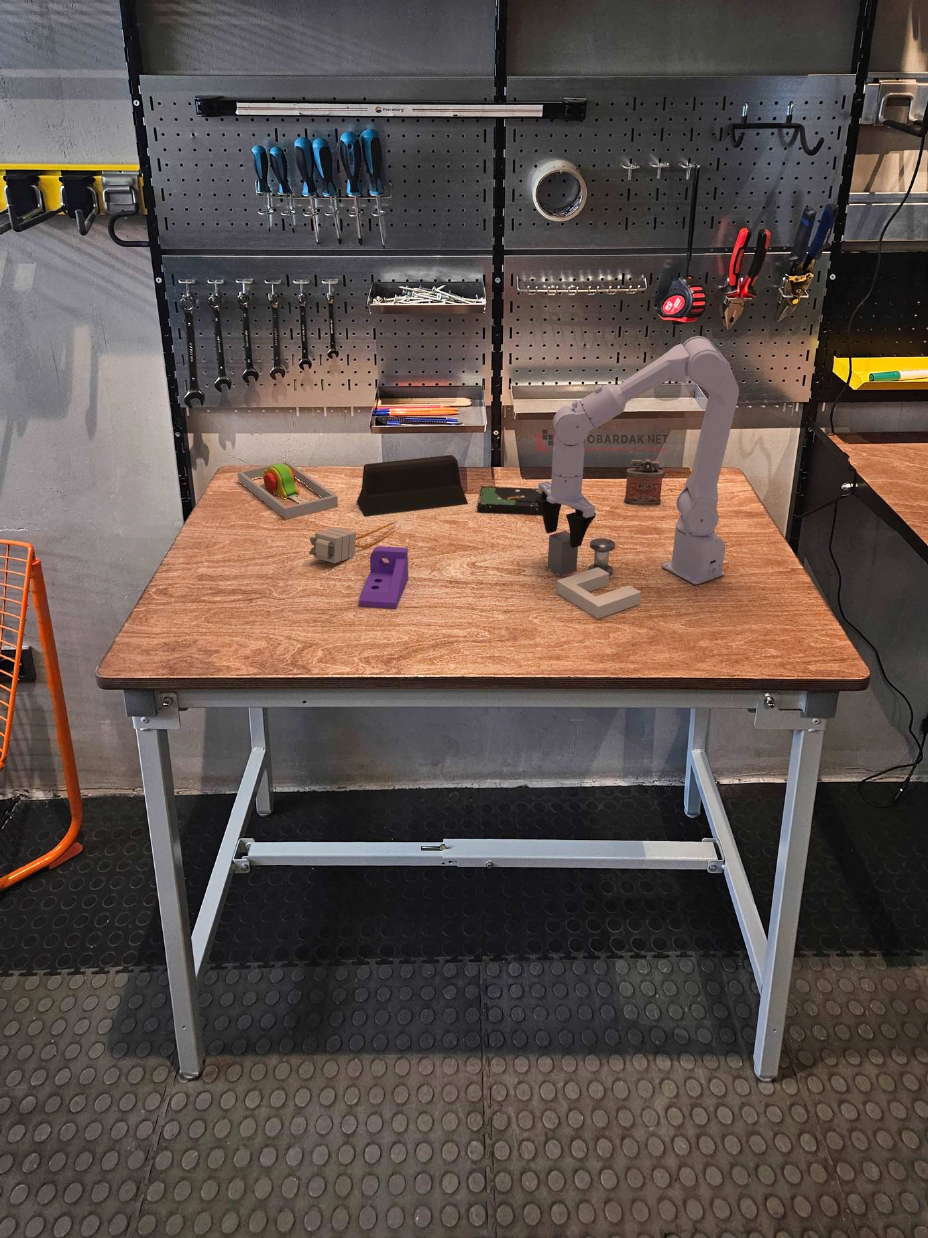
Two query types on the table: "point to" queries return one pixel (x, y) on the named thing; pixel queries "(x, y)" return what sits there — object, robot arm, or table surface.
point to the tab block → (562, 554)
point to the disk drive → (508, 500)
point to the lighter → (644, 483)
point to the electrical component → (338, 544)
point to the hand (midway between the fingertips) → (563, 538)
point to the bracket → (385, 578)
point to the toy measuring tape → (281, 481)
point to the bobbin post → (602, 554)
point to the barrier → (410, 485)
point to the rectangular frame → (324, 503)
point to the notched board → (597, 606)
